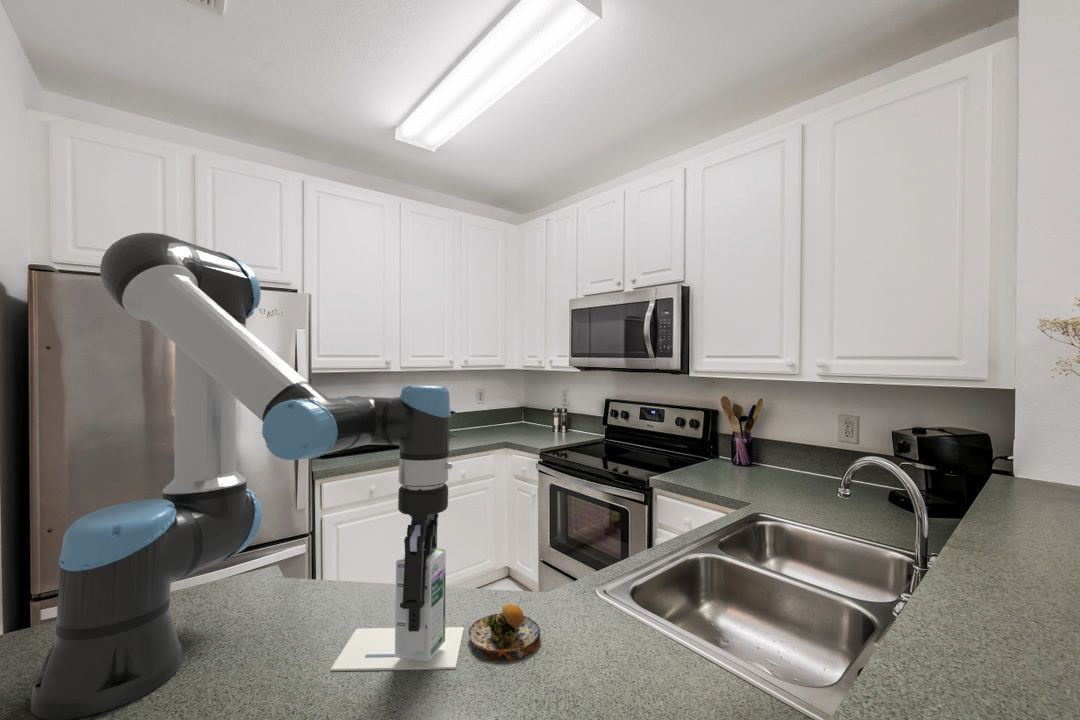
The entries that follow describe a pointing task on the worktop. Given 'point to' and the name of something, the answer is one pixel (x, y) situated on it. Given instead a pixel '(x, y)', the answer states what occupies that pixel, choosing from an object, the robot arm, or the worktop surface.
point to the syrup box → (433, 607)
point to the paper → (393, 652)
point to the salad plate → (506, 634)
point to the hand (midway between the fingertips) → (420, 636)
